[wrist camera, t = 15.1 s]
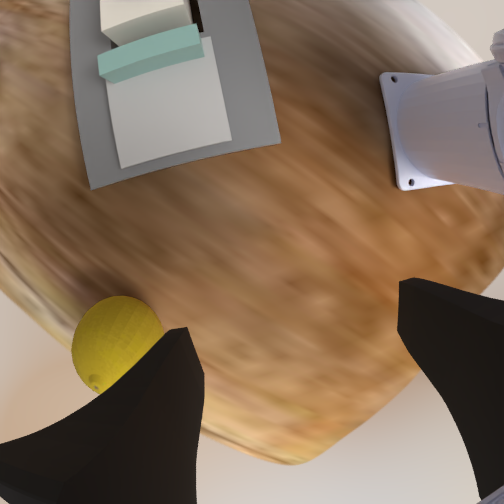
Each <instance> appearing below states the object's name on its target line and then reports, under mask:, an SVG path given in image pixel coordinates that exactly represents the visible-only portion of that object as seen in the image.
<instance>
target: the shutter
mask: <svg viewBox="0 0 504 504" xmlns="http://www.w3.org/2000/svg"><path fill="white" fill-rule="evenodd" d="M97 57H98V67H99V76H101V77H103V78H105V79H106V86H107V94H108V100H109V107H110V113H111V119H112V125H113V130H114V136H115V141H116V146H117V151H118V156H119V161H120V165H121V169H123V168H128V167H131V166H134V165H137V164H141V163H144V162H148V161H151V160H155V159H158V158H162V157H165V156H169V155H173V154H177V153H181V152H185V151H189V150H193V149H197V148H201V147H205V146H210V145H214V144H219V143H223V142H228V141H232V137H231V132H230V127H229V123H228V118H227V113H226V108H225V103H224V98H223V94H222V89H221V84H220V79H219V74H218V69H217V65H216V60H215V55H214V50H213V45H212V41H211V36H209V37H205V38H201V37H200V33H199V30H198V27H197V24H191V25H187V26H183V27H179V28H176V29H172V30H168V31H165V32H161V33H158V34H155V35H151V36H148V37H145V38H142V39H139V40H136V41H133V42H131V43H128V44H125V45H122V46H120V47H117V48H115V49H112V50H110V51H107V52H105V53H102V54H100V55H98V56H97Z"/></svg>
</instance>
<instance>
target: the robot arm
mask: <svg viewBox="0 0 504 504" xmlns="http://www.w3.org/2000/svg"><path fill="white" fill-rule="evenodd" d="M490 50H491V52H492V54H493V56H494V58H495V59H494V60H490V61H486V62H482V63H478V64H474V65H470V66H466V67H462V68H459V69H455V70H452V71H448V72H445V73H442V74H438V75H428V74H416V73H398V72H384V73H382V74H381V75H380V77H379V81H380V85H381V89H382V94H383V98H384V103H385V108H386V113H387V118H388V124H389V130H390V136H391V142H392V149H393V156H394V163H395V171H396V180H397V186H398V188H399V189H401V190H403V191H408V190H414V189H421V188H428V187H434V186H441V185H449V184H461V185H466V186H470V187H474V188H479V189H483V190H487V191H491V192H495V193H499V194H503V195H504V29H502V30H500V31H498V32H496V33H495V34H494V37H493V44H492V45H491V46H490ZM391 77H393V78H394V79H395V83H394V82H393V81H392V80H391ZM409 179H411V181H412V183H411V185H409V184H408V182H409ZM397 331H398V333H399V335H400V337H401V339H402V341H403V343H404V345H405V346H406V348H407V350H408V352H409V353H410V355H411V356H412V357H413V359H414V360H415V361H416V363H417V364H418V365H419V367H420V368H421V369H422V371H423V372H424V373H425V375H426V376H427V377H428V379H429V380H430V381H431V383H432V384H433V386H434V387H435V388H436V390H437V391H438V392H439V394H440V395H441V397H442V398H443V400H444V402H445V403H446V405H447V407H448V409H449V411H450V413H451V415H452V417H453V419H454V421H455V423H456V425H457V427H458V430H459V432H460V434H461V436H462V439H463V441H464V443H465V446H466V449H467V452H468V454H469V458H470V461H471V464H472V467H473V471H474V474H475V478H476V482H477V487H478V492H479V497H480V498H481V501H480V502H479V503H477V504H504V301H503V300H498V299H493V298H489V297H485V296H481V295H477V294H473V293H470V292H466V291H463V290H459V289H456V288H453V287H449V286H446V285H443V284H439V283H436V282H432V281H429V280H425V279H420V278H410V279H407V280H403V281H399V307H398V326H397ZM203 406H204V372H203V369H202V366H201V364H200V361H199V358H198V356H197V353H196V350H195V348H194V345H193V342H192V339H191V337H190V334H189V331H188V328H187V327H184V328H178V329H171V330H169V331H168V332H166V333H165V334H164V335H163V336H162V337H161V338H160V339H159V340H158V341H157V342H156V343H155V344H154V345H153V346H152V347H151V348H150V349H149V350H148V352H147V353H146V354H145V355H144V356H143V357H142V358H141V359H140V360H139V361H138V362H137V363H136V364H135V365H134V366H133V367H131V368H130V369H129V370H128V371H127V372H126V373H125V374H124V375H123V376H122V377H121V378H120V379H118V380H117V381H116V382H115V383H114V384H113V385H112V386H111V387H109V388H108V389H107V390H106V391H104V392H103V393H102V394H100V395H99V396H98V397H97V398H95V399H94V400H92V401H91V402H89V403H88V404H87V405H85V406H83V407H82V408H80V409H79V410H77V411H75V412H74V413H72V414H70V415H69V416H67V417H65V418H64V419H62V420H60V421H58V422H56V423H54V424H52V425H50V426H49V427H46V428H44V429H42V430H39V431H37V432H35V433H32V434H30V435H27V436H24V437H21V438H18V439H15V440H12V441H9V442H5V443H2V444H0V497H2V498H3V499H4V500H5V501H6V502H8V503H9V504H197V498H196V458H197V448H198V441H199V434H200V427H201V420H202V413H203Z"/></svg>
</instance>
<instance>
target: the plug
mask: <svg viewBox="0 0 504 504" xmlns="http://www.w3.org/2000/svg"><path fill="white" fill-rule="evenodd" d="M100 17H101V32H103V33H104V34H105V35H106V36H107V37H109V38H110V39H111V40H112V41H113V42H114V43H116V44H117V45H118V46H119V47H120V46H122V45H125V44H128V43H131V42H133V41H136V40H139V39H142V38H145V37H148V36H151V35H155V34H158V33H161V32H165V31H168V30H172V29H176V28H179V27H183V26H187V25H191V24H194V23H193V17H192V12H191V6H190V1H189V0H100Z"/></svg>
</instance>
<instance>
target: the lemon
mask: <svg viewBox="0 0 504 504" xmlns="http://www.w3.org/2000/svg"><path fill="white" fill-rule="evenodd" d="M163 335H164V331H163V328H162V325H161V322H160V320H159V319H158V317H157V315H156V314H155V312H154V311H153V310H152V309H151V308H150V307H149V306H148V305H146V304H145V303H144V302H142V301H140V300H138V299H136V298H133V297H128V296H112V297H109V298H106V299H103V300H101V301H99V302H98V303H96V304H95V305H94V306H93V307H91V308H90V309H89V310H88V311H87V312H86V313H85V315H84V316H83V318H82V319H81V321H80V322H79V324H78V326H77V328H76V331H75V334H74V338H73V343H72V350H71V351H72V358H73V363H74V366H75V369H76V371H77V373H78V375H79V376H80V378H81V379H82V381H83V382H84V383H85V384H86V385H87V386H88V387H89V388H91V389H92V390H93V391H95V392H97V393H98V394H102V393H103V392H104V391H106V390H107V389H108V388H109V387H111V386H112V385H113V384H114V383H115V382H116V381H117V380H118V379H120V378H121V377H122V376H123V375H124V374H125V373H126V372H127V371H128V370H129V369H130V368H131V367H133V366H134V365H135V364H136V363H137V362H138V361H139V360H140V359H141V358H142V357H143V356H144V355H145V354H146V353H147V352H148V350H149V349H150V348H151V347H152V346H153V345H154V344H155V343H156V342H157V341H158V340H159V339H160V338H161V337H162V336H163Z"/></svg>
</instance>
